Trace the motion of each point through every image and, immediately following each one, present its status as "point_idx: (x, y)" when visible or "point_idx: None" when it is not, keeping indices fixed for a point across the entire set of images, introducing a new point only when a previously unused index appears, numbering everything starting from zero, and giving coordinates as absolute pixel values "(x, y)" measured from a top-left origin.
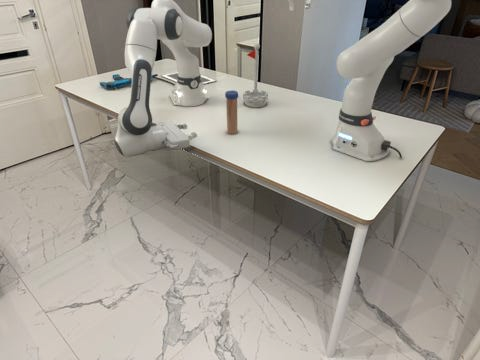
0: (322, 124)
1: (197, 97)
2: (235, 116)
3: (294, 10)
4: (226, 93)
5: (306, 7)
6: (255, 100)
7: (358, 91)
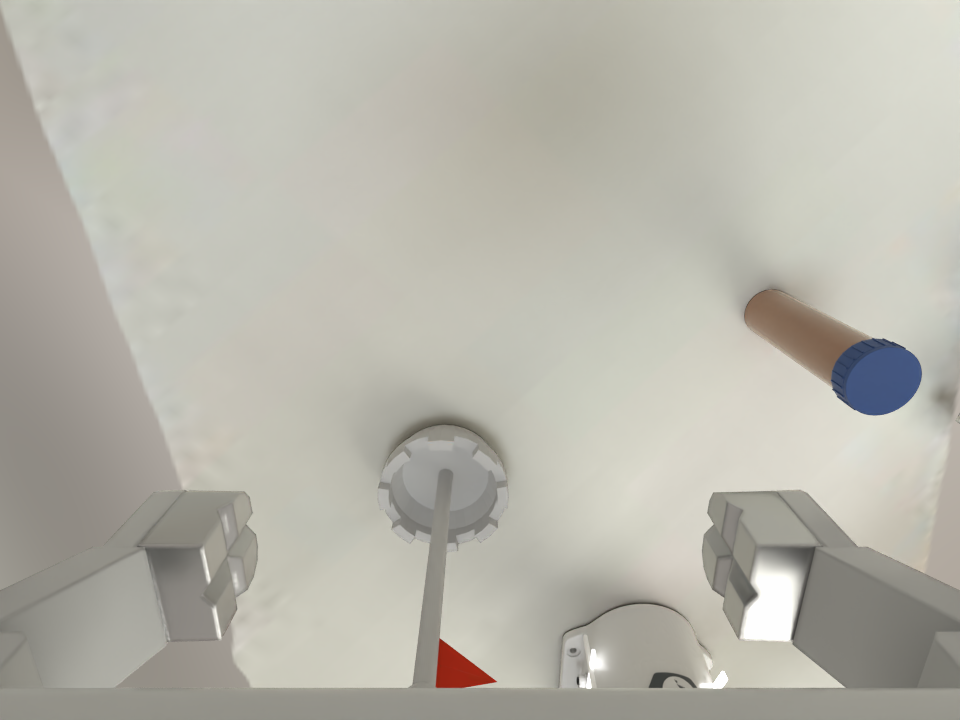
0: (390, 59)
1: (652, 634)
2: (817, 311)
3: (732, 493)
4: (913, 390)
5: (240, 546)
6: (489, 450)
7: None
